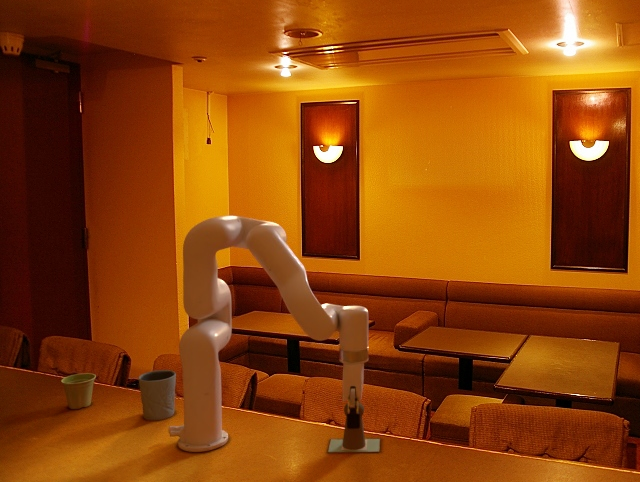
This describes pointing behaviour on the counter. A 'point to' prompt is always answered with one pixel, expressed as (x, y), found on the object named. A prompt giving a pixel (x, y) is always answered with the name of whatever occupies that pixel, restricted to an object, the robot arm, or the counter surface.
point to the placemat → (370, 446)
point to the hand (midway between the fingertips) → (354, 422)
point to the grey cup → (158, 394)
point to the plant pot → (78, 389)
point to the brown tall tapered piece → (354, 432)
